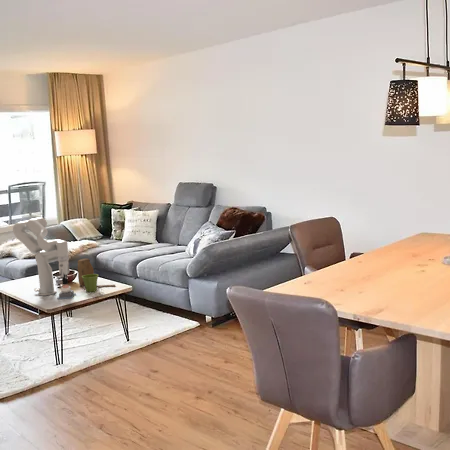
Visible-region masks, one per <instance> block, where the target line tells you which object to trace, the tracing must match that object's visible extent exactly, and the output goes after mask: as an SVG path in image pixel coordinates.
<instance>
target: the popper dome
mask: <svg viewBox="0 0 450 450" xmlns="http://www.w3.org/2000/svg"><path fill="white" fill-rule="evenodd" d="M71 288H72V287H71V286H70V285H69V284H62V287H60V290H61V292H62V293H69V292H70V291H71V290H72V289H71Z"/></svg>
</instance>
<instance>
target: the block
mask: <svg viewBox="0 0 450 450" xmlns="http://www.w3.org/2000/svg"><path fill="white" fill-rule="evenodd" d="M90 260H91V259H90V258H81V259H78V260H77V278H78V284H79V285H80V286H81V287H85V284H84V281H83V278H82V276H84V275H88V274H95V271H94V267H93V265H92V263H91V262H90Z"/></svg>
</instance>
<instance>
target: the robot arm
mask: <svg viewBox="0 0 450 450" xmlns="http://www.w3.org/2000/svg"><path fill="white" fill-rule="evenodd" d="M47 225H48V222H47V220H46V219H45V218H43V217H42V216H41V217H35V218H30V219H28V220H21V221H18V222H16V223H15V224H14V225H13V227H12V231H13V234H14V236H15V238H16V239H17V240H18V241H20V242H21V243H22V244H23V245H24V247H26V248H27V250H28V251H29V252H30V253H31V254H33V255H35V257H34V258H35V262H36V265H37V274H38V283H39V288H37V287H36V288H34V289H33V290H34V292H37V295H38V296H40V297H41V296H43V297H44V296H52V295H55V294H57V290H56V289H55V287H54V284H55V283H54V276H53V268H52V266H51V265H50V264H49V263H54V262H56V261H57V262H58V271H59V275H60V277H61V279H62V280H61V281H62V285H65V284H67V285H69V284H68V283H69V282H68V275H69V273H70V272H71V269H70V262H69V260H70V259H69V247H68V245H69V244H68V241H67V240H63V239H59V238H57V239H51V240H48V239H46V236H47V235H48V234H49V233H48V232H49V231H48V229H47ZM31 233H32V234H33V235H35V237H36V238H35V237H34V236H33V235H32V234H31Z"/></svg>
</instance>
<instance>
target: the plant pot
mask: <svg viewBox="0 0 450 450" xmlns="http://www.w3.org/2000/svg"><path fill="white" fill-rule="evenodd" d="M82 278H83V281H84V284H85V286H84V288H85V290H86V292H87V293H89V292H90V293H93V292H96V291H97V289H98V287H97V285H98V278H99V274H97V273H94V274H88V275H84V276H82Z"/></svg>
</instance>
